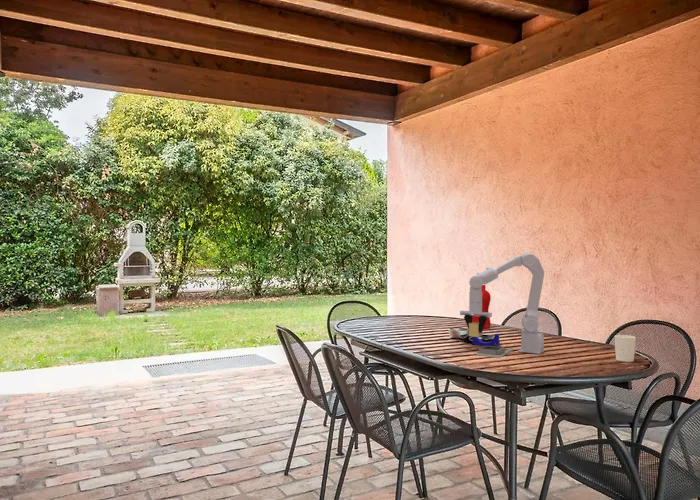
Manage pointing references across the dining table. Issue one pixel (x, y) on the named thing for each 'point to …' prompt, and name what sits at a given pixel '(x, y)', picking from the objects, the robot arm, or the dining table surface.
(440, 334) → the dining table surface
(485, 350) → the grey base plate
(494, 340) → the cable clip
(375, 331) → the dining table surface
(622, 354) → the white cup
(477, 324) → the tan rectangular block
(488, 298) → the water bottle
